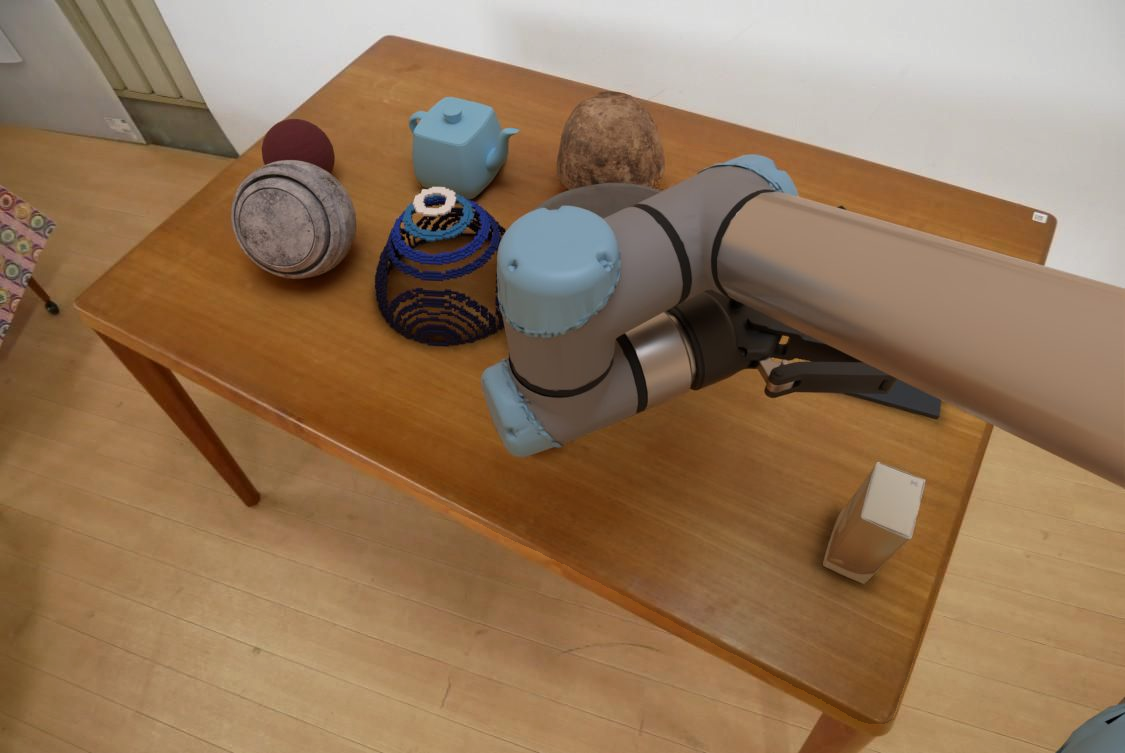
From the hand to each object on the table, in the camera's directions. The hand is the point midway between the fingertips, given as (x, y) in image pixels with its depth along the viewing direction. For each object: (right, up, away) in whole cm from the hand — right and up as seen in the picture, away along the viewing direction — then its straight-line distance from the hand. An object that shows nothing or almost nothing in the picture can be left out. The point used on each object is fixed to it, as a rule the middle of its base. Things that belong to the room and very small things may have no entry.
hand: (889, 266), depth 60 cm
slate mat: (+11, -5, +25) cm, 28 cm away
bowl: (-22, -1, +29) cm, 36 cm away
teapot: (-42, +20, +45) cm, 65 cm away
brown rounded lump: (-21, +17, +42) cm, 50 cm away
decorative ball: (-67, +20, +45) cm, 83 cm away
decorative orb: (-63, +6, +36) cm, 72 cm away
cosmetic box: (0, -27, +9) cm, 29 cm away
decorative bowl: (-43, +2, +32) cm, 53 cm away
